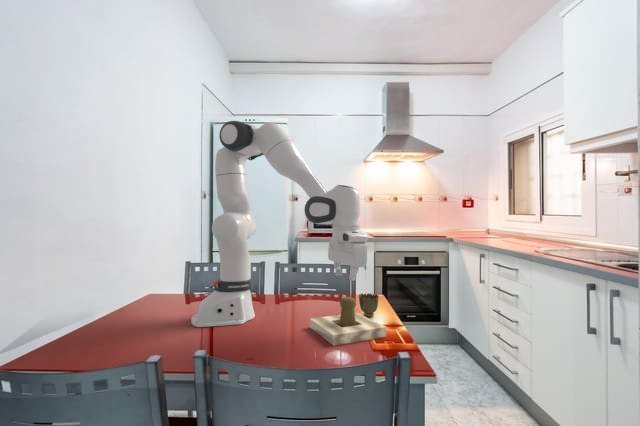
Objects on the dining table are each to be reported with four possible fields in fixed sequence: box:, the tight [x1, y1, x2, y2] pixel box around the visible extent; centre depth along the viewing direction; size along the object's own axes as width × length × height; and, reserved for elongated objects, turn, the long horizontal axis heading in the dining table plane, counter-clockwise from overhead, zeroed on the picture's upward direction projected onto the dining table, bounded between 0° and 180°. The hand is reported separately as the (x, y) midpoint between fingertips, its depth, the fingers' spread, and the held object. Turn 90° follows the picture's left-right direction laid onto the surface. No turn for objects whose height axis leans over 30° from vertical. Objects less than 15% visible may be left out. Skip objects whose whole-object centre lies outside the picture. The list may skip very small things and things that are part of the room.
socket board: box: [309, 312, 387, 346], centre depth 108 cm, size 18×18×3 cm
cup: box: [358, 292, 379, 318], centre depth 125 cm, size 8×7×8 cm
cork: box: [339, 296, 357, 328], centre depth 108 cm, size 6×6×11 cm
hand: (345, 277), depth 108 cm, fingers open, 8 cm apart
